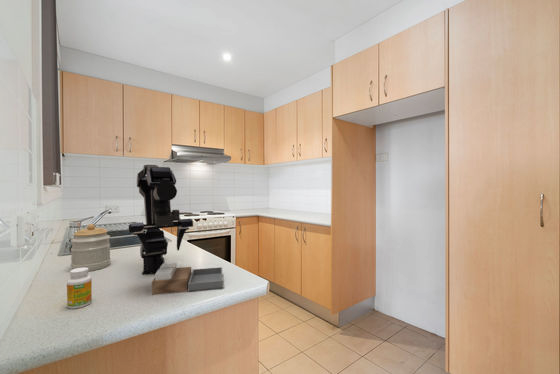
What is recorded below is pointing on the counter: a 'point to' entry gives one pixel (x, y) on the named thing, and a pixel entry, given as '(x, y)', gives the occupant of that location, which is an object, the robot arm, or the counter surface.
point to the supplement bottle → (79, 288)
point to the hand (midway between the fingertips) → (162, 252)
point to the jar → (90, 248)
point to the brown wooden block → (173, 282)
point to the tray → (205, 279)
